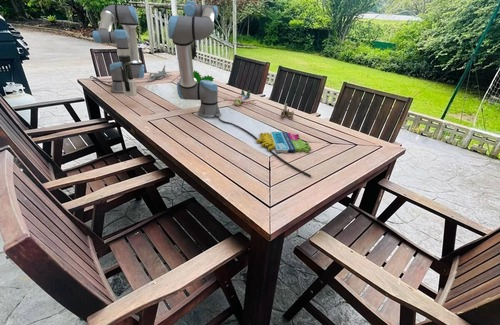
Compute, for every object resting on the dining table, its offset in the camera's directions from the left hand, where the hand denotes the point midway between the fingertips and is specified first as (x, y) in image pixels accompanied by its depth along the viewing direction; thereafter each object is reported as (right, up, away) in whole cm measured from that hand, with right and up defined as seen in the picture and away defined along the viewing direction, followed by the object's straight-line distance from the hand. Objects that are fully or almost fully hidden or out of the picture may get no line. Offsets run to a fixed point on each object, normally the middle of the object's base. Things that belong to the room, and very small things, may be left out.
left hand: (129, 90), depth 186 cm
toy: (+79, 0, +35) cm, 86 cm away
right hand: (+43, +27, +11) cm, 52 cm away
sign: (+105, -40, -34) cm, 117 cm away
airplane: (-11, +38, +91) cm, 99 cm away
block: (0, -3, +2) cm, 4 cm away
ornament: (+41, +19, +65) cm, 79 cm away
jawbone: (+112, -18, +8) cm, 114 cm away
